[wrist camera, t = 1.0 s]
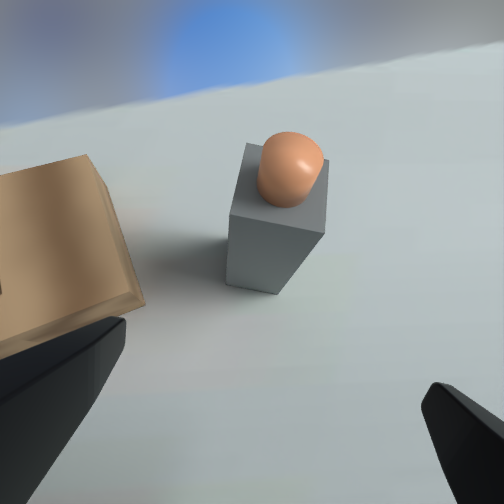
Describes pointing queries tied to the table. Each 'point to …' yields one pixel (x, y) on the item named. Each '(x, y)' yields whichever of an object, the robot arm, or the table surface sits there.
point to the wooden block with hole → (60, 254)
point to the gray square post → (276, 211)
